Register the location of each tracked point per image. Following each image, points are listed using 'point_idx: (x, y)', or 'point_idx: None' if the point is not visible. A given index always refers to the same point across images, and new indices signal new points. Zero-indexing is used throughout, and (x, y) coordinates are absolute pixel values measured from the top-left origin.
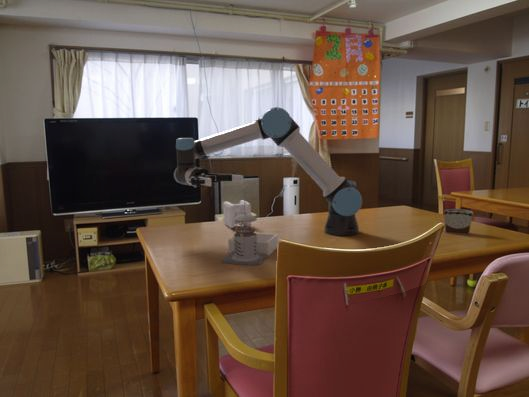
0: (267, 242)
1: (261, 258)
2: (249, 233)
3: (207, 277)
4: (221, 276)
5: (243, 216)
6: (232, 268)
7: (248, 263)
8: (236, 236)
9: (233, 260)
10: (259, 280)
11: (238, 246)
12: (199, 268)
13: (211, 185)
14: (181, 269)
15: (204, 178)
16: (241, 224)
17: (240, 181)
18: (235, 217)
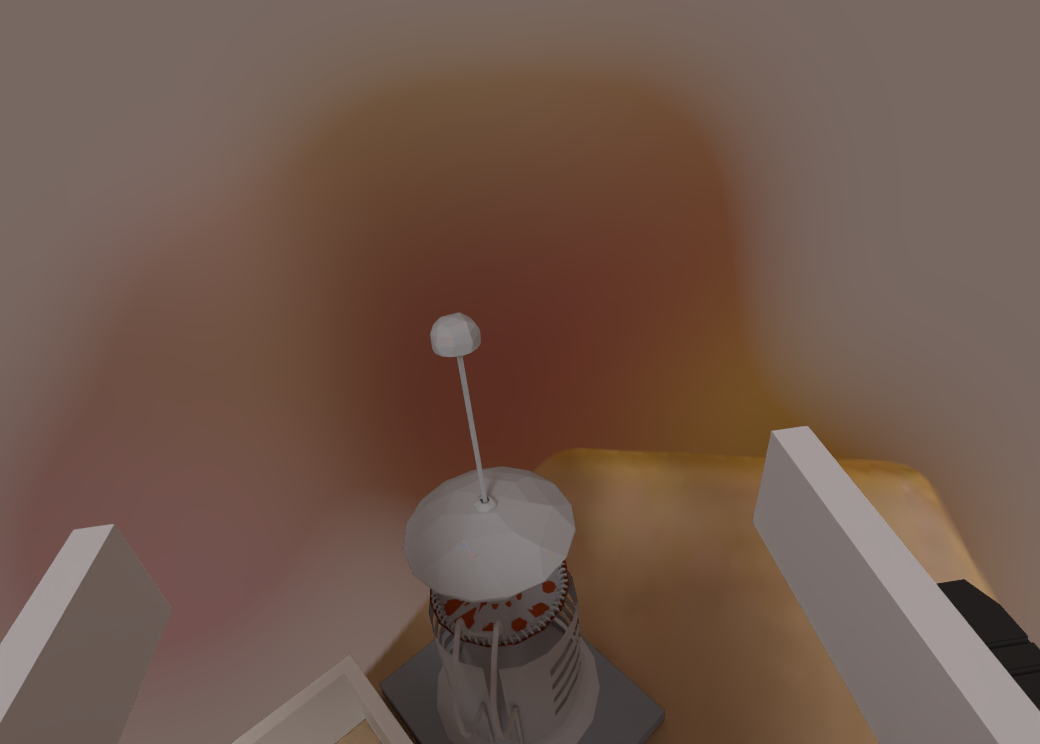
0: (351, 657)
1: None
2: (443, 650)
3: None
4: (711, 532)
5: (517, 482)
6: (636, 599)
7: None
8: (573, 584)
9: (603, 660)
10: (591, 455)
11: (570, 608)
12: (807, 675)
13: (755, 513)
14: None
15: (919, 574)
16: (482, 631)
17: (146, 632)
18: (552, 539)
